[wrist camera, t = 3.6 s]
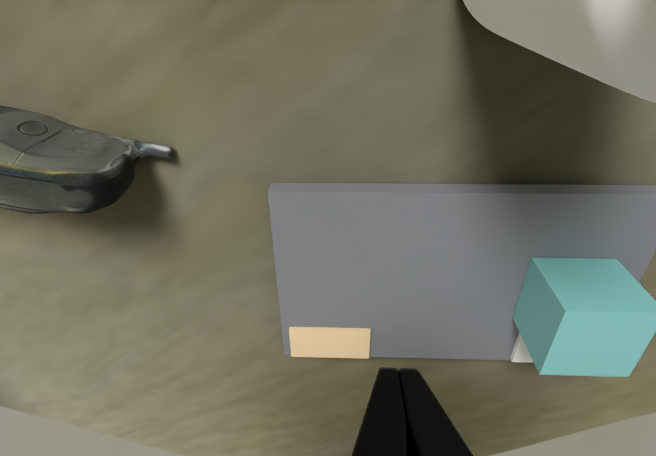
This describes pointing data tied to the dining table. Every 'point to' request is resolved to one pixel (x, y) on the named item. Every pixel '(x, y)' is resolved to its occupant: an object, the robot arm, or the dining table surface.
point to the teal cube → (584, 317)
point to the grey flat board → (436, 260)
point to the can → (583, 36)
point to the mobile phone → (64, 164)
